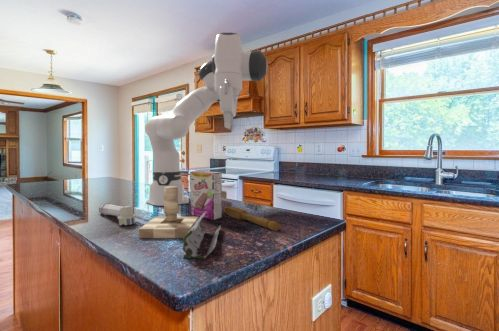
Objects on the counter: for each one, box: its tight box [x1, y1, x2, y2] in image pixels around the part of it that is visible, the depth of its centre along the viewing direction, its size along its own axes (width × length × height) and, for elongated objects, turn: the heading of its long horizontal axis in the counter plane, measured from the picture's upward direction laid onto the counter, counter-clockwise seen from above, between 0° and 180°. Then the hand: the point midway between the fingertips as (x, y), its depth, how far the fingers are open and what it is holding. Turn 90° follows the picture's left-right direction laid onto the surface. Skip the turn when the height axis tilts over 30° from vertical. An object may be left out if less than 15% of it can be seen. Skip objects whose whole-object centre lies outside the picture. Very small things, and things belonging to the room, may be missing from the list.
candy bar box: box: [189, 170, 223, 221], centre depth 110 cm, size 11×5×16 cm, turn 57°
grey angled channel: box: [182, 211, 222, 260], centre depth 82 cm, size 7×7×25 cm
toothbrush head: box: [98, 202, 137, 226], centre depth 107 cm, size 5×7×25 cm
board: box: [138, 216, 199, 239], centre depth 93 cm, size 15×14×2 cm
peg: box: [163, 186, 179, 224], centre depth 94 cm, size 4×4×13 cm
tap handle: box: [223, 205, 280, 232], centre depth 105 cm, size 3×3×30 cm
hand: (228, 128), depth 98 cm, fingers open, 8 cm apart
